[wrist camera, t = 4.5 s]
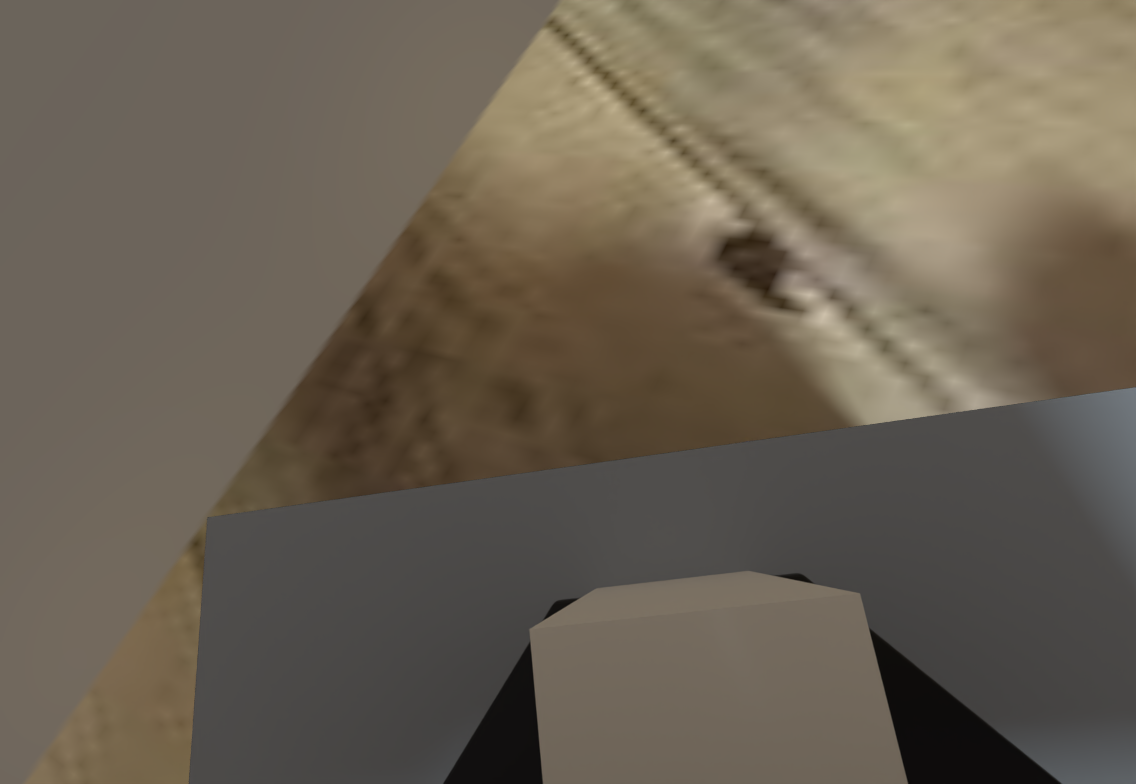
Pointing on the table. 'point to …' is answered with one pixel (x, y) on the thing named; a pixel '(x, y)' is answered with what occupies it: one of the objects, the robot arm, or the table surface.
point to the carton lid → (692, 608)
